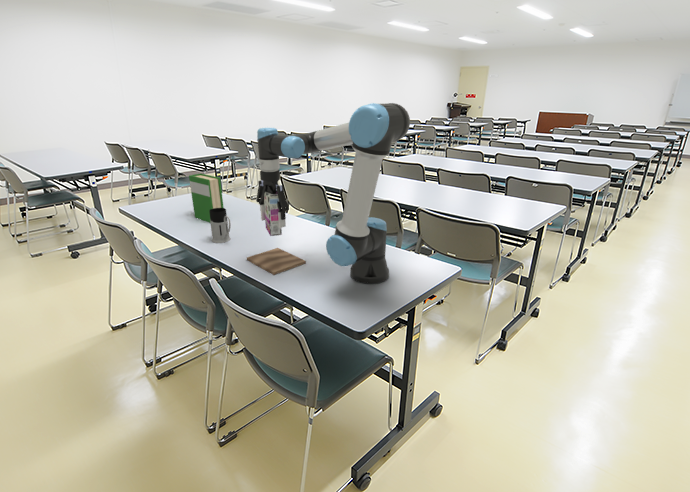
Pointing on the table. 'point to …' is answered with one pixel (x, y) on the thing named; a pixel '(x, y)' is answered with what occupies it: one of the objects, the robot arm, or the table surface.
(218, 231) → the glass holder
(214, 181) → the hardback book
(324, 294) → the table surface
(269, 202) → the candy bar box
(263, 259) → the walnut board
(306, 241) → the table surface
